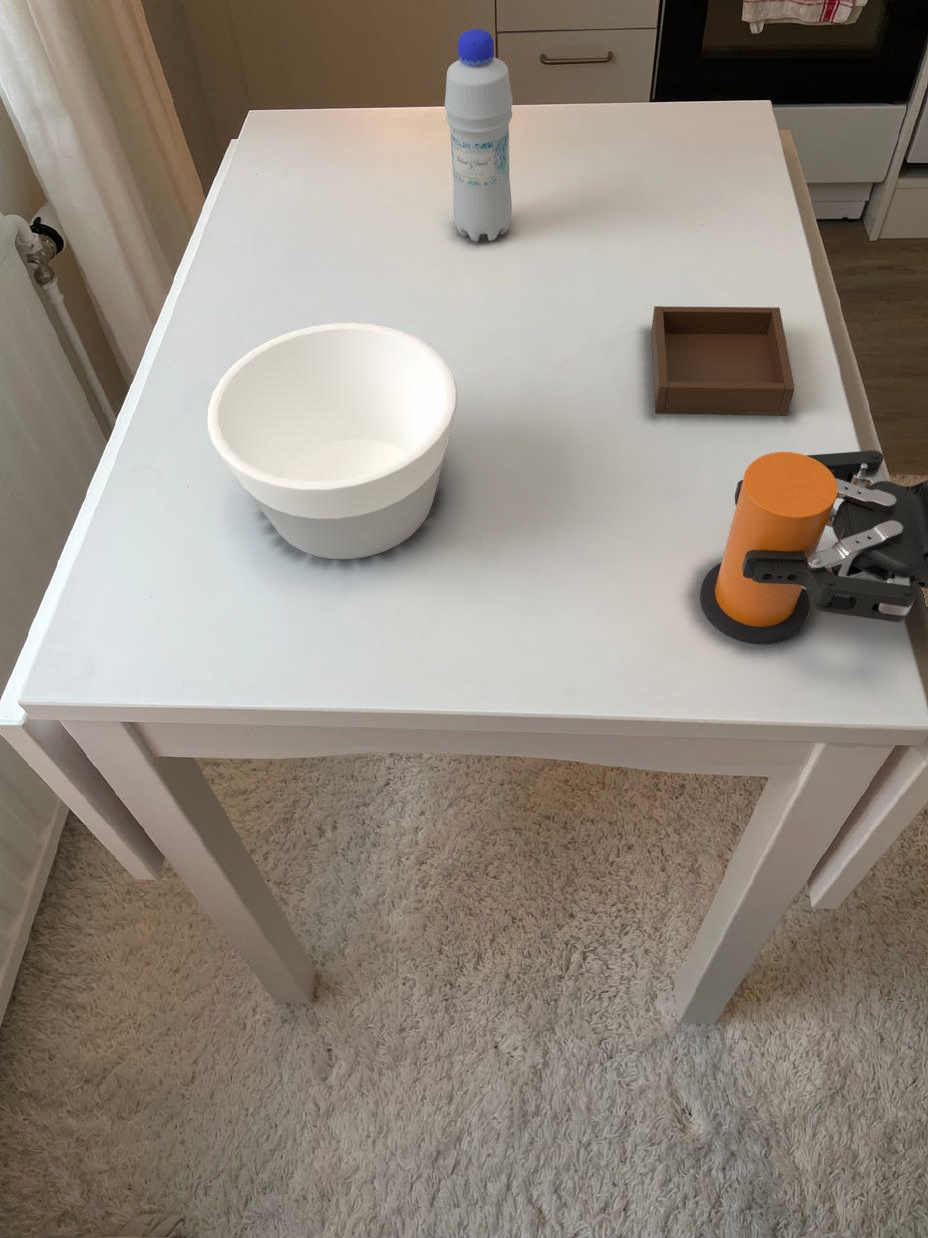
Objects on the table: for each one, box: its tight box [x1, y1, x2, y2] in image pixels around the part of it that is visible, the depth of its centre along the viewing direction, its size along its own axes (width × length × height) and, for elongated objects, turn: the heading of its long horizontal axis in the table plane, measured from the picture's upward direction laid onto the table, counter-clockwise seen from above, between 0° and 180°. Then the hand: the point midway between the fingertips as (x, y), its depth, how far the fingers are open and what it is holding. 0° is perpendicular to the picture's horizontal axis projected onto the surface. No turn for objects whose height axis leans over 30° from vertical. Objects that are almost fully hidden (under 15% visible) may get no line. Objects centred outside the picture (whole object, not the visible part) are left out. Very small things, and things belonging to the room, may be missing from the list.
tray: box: [650, 305, 795, 416], centre depth 88 cm, size 12×12×3 cm
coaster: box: [699, 561, 810, 645], centre depth 73 cm, size 8×8×1 cm
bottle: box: [444, 28, 514, 242], centre depth 97 cm, size 7×7×20 cm
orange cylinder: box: [715, 451, 838, 627], centre depth 68 cm, size 6×6×12 cm
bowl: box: [207, 322, 458, 560], centre depth 77 cm, size 19×19×11 cm
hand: (741, 527), depth 67 cm, fingers closed on orange cylinder, 6 cm apart
